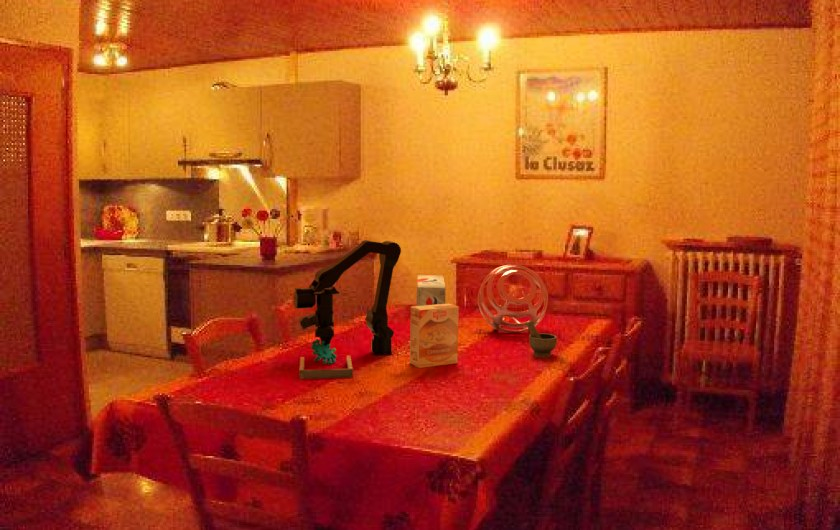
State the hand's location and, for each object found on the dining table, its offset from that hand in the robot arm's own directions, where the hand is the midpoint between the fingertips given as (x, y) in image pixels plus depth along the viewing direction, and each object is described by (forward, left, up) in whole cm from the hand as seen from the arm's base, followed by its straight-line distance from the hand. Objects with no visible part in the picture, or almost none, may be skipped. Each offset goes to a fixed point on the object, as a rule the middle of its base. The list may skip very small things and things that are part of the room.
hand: (324, 351), depth 255 cm
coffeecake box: (-36, +11, -2) cm, 38 cm away
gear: (0, +6, -2) cm, 7 cm away
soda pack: (-50, -84, -3) cm, 98 cm away
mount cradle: (0, +16, -2) cm, 16 cm away
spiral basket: (-75, -35, -2) cm, 83 cm away
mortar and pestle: (-75, +4, -2) cm, 75 cm away
